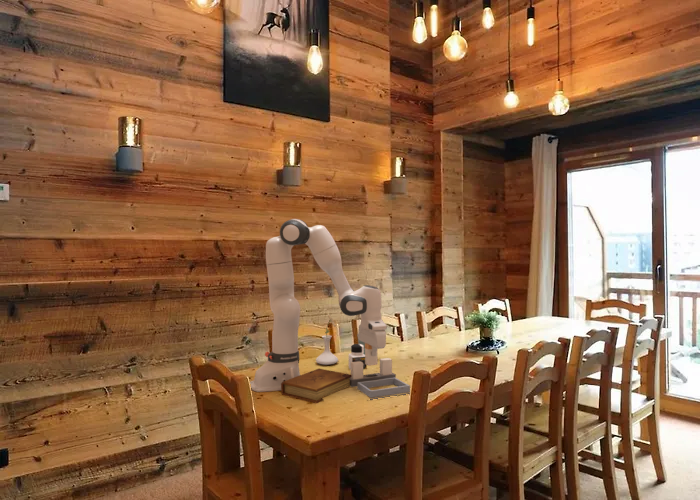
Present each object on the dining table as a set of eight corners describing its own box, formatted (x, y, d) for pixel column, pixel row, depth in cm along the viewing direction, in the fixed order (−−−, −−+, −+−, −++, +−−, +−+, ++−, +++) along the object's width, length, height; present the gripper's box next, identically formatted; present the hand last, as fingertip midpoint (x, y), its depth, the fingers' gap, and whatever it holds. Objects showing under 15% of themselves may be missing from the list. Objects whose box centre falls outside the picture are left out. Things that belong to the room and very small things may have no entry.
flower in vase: (335, 367, 238) (335, 316, 238) (313, 365, 241) (312, 315, 240) (341, 360, 251) (341, 312, 250) (319, 359, 253) (319, 311, 253)
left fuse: (353, 385, 206) (353, 363, 205) (350, 383, 208) (350, 362, 208) (363, 383, 207) (363, 362, 207) (360, 381, 210) (360, 361, 210)
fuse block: (351, 389, 203) (351, 381, 203) (345, 384, 209) (344, 376, 209) (397, 382, 212) (397, 374, 212) (390, 378, 218) (390, 370, 218)
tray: (370, 400, 189) (370, 391, 189) (357, 391, 201) (357, 382, 200) (409, 394, 196) (409, 385, 196) (394, 385, 208) (394, 377, 207)
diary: (317, 381, 216) (317, 368, 216) (351, 388, 205) (351, 374, 205) (281, 395, 197) (281, 380, 197) (316, 403, 186) (316, 388, 186)
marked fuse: (368, 365, 208) (367, 344, 208) (365, 364, 211) (364, 343, 211) (377, 364, 210) (377, 343, 210) (374, 362, 213) (374, 342, 212)
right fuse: (382, 381, 211) (382, 360, 211) (379, 379, 214) (379, 358, 214) (392, 379, 213) (392, 359, 213) (388, 378, 216) (388, 357, 215)
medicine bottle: (352, 372, 229) (352, 346, 229) (348, 368, 236) (348, 343, 236) (366, 370, 231) (366, 345, 231) (362, 367, 238) (362, 342, 238)
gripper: (354, 319, 218) (354, 350, 219) (375, 327, 199) (374, 360, 200) (367, 318, 221) (367, 349, 221) (388, 326, 202) (388, 359, 202)
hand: (371, 354), depth 210 cm, fingers closed on marked fuse, 3 cm apart
